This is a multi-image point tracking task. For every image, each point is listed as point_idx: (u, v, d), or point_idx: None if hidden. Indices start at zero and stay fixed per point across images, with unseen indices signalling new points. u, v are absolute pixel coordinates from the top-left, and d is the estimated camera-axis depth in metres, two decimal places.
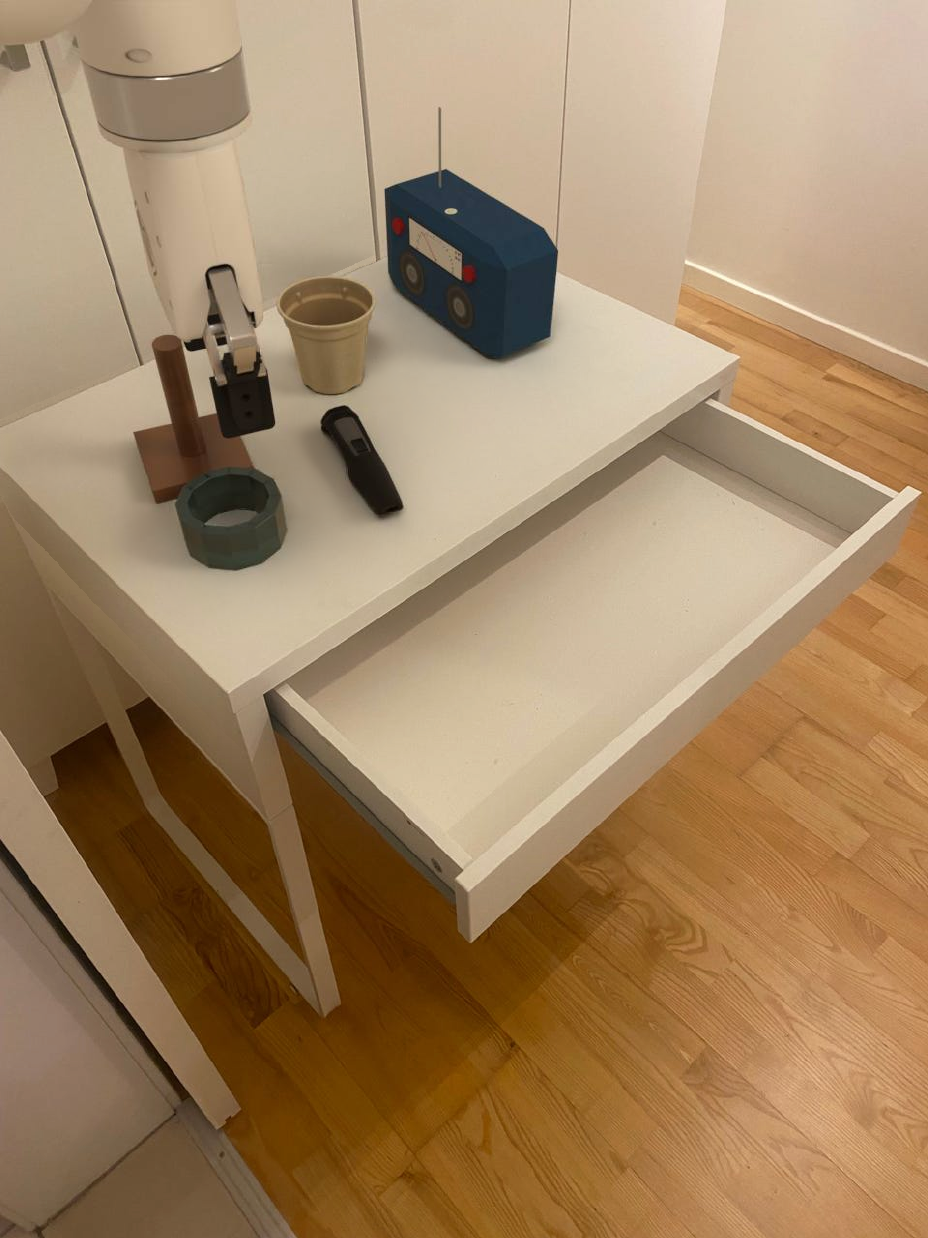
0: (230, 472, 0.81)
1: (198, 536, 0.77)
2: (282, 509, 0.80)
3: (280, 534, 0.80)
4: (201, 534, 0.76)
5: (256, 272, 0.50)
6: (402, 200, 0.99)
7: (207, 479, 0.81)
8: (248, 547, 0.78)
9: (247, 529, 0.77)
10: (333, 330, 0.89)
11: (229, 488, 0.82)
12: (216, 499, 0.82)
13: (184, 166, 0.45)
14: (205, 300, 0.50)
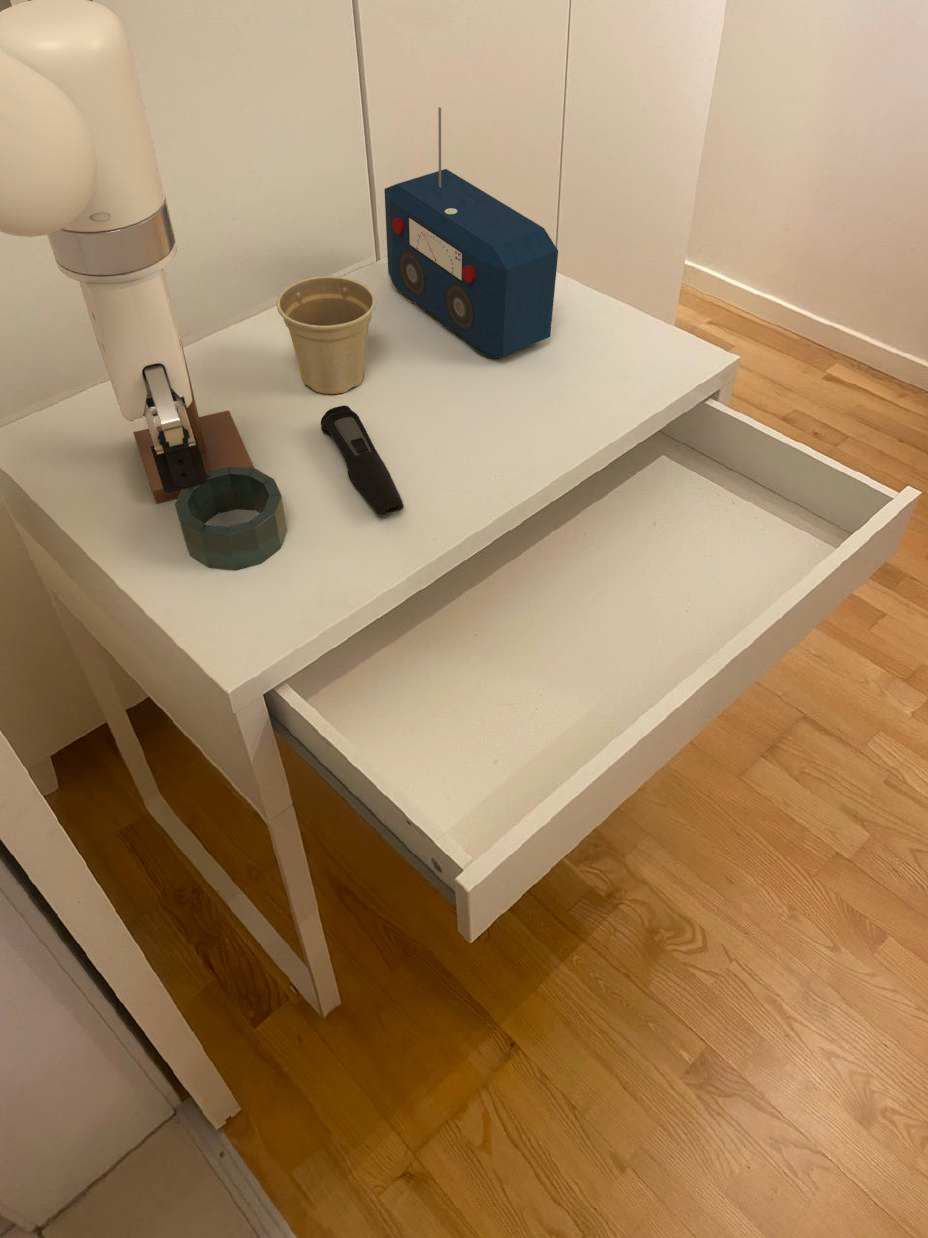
0: (230, 472, 0.81)
1: (198, 536, 0.77)
2: (282, 509, 0.80)
3: (280, 534, 0.80)
4: (201, 534, 0.76)
5: (183, 367, 0.64)
6: (402, 200, 0.99)
7: (207, 479, 0.81)
8: (248, 547, 0.78)
9: (247, 529, 0.77)
10: (333, 330, 0.89)
11: (229, 488, 0.82)
12: (216, 499, 0.82)
13: (121, 294, 0.59)
14: (143, 390, 0.63)
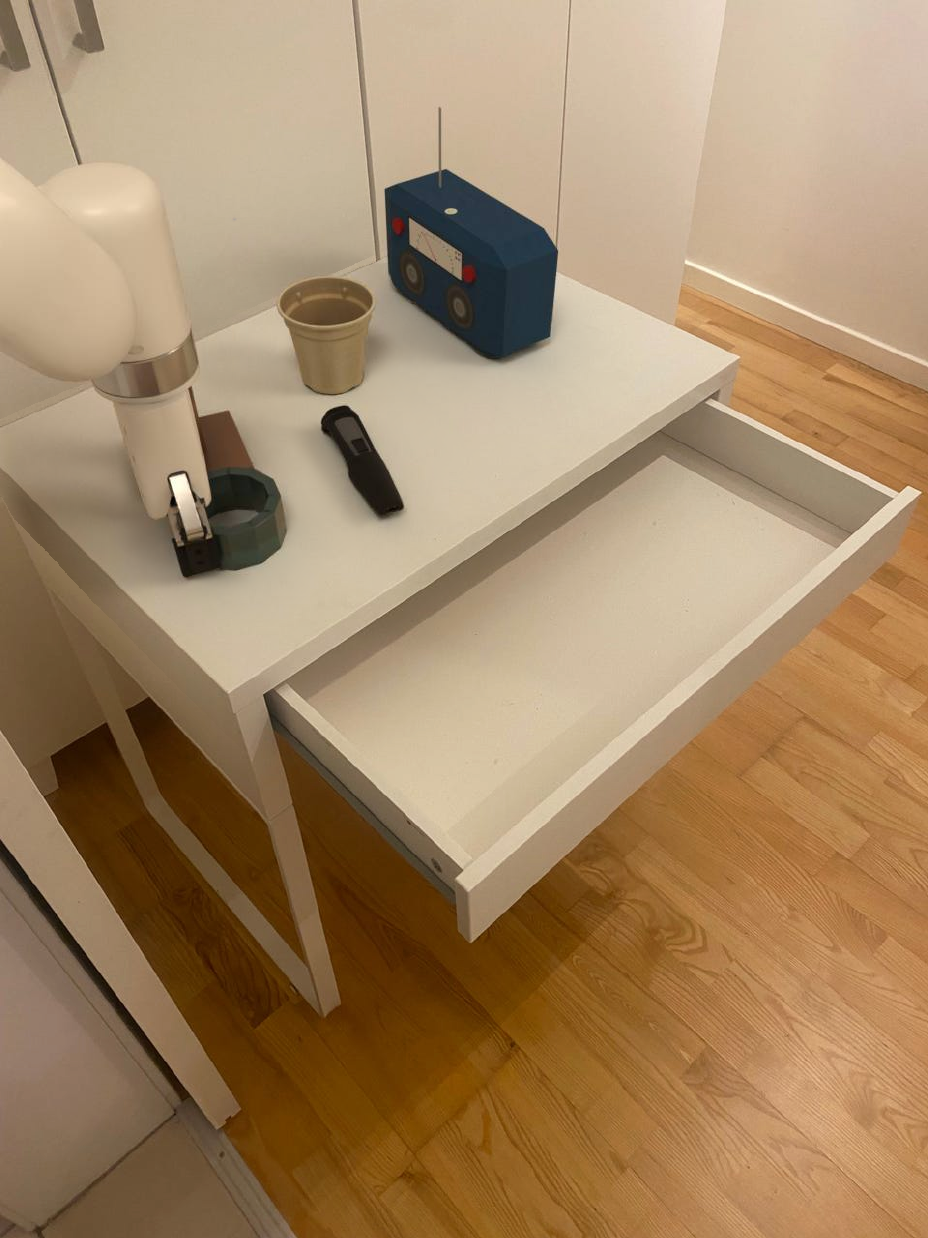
0: (230, 472, 0.81)
1: None
2: (282, 509, 0.80)
3: (280, 534, 0.80)
4: None
5: (204, 473, 0.70)
6: (402, 200, 0.99)
7: None
8: (248, 547, 0.78)
9: (247, 529, 0.77)
10: (333, 330, 0.89)
11: (229, 488, 0.82)
12: (216, 499, 0.82)
13: (150, 414, 0.65)
14: (168, 494, 0.70)
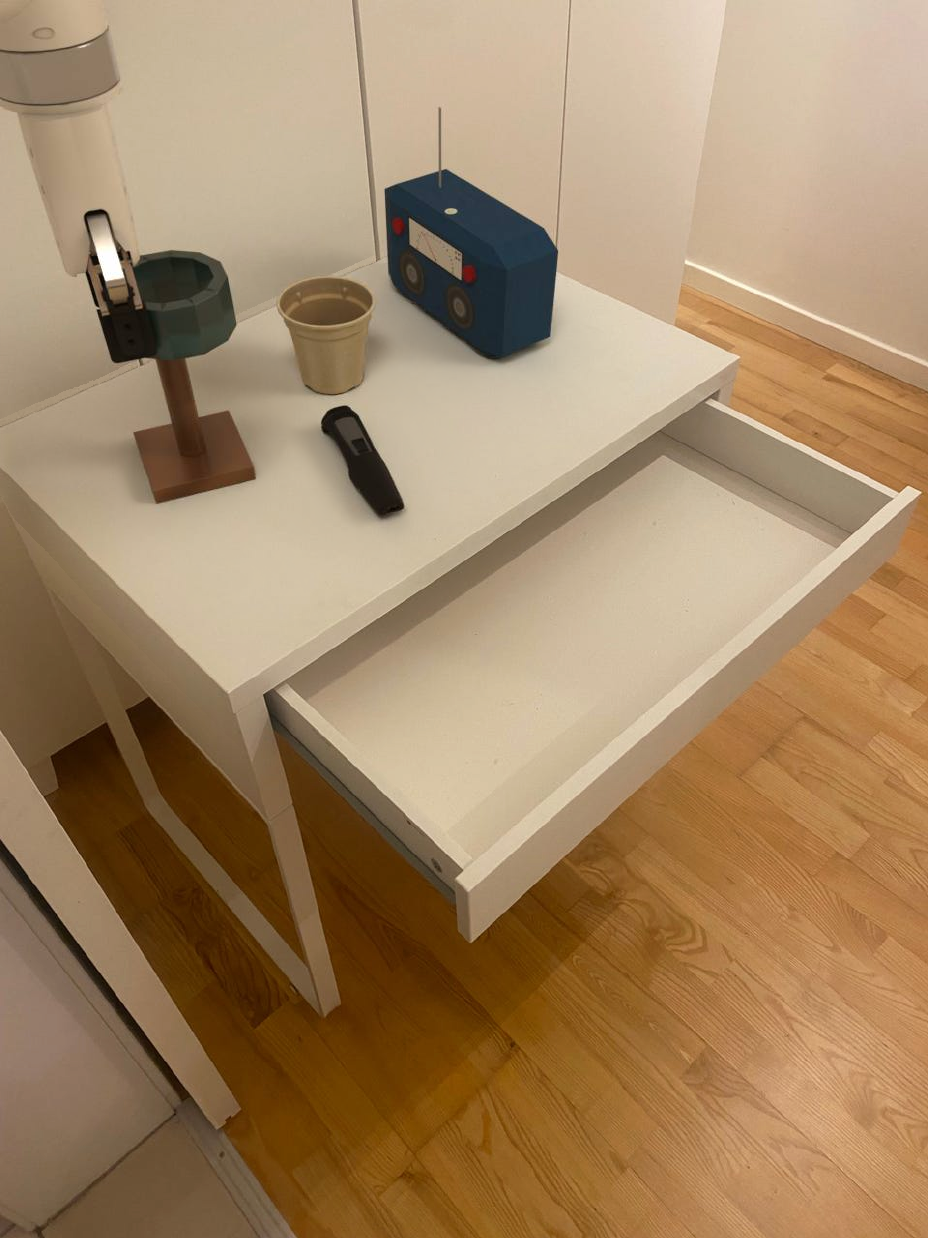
0: (172, 255, 0.71)
1: None
2: (229, 294, 0.70)
3: (227, 323, 0.70)
4: None
5: (129, 217, 0.61)
6: (402, 200, 0.99)
7: (144, 261, 0.71)
8: (188, 330, 0.68)
9: (185, 306, 0.67)
10: (333, 330, 0.89)
11: (171, 276, 0.72)
12: (156, 289, 0.73)
13: (59, 125, 0.56)
14: (85, 239, 0.60)
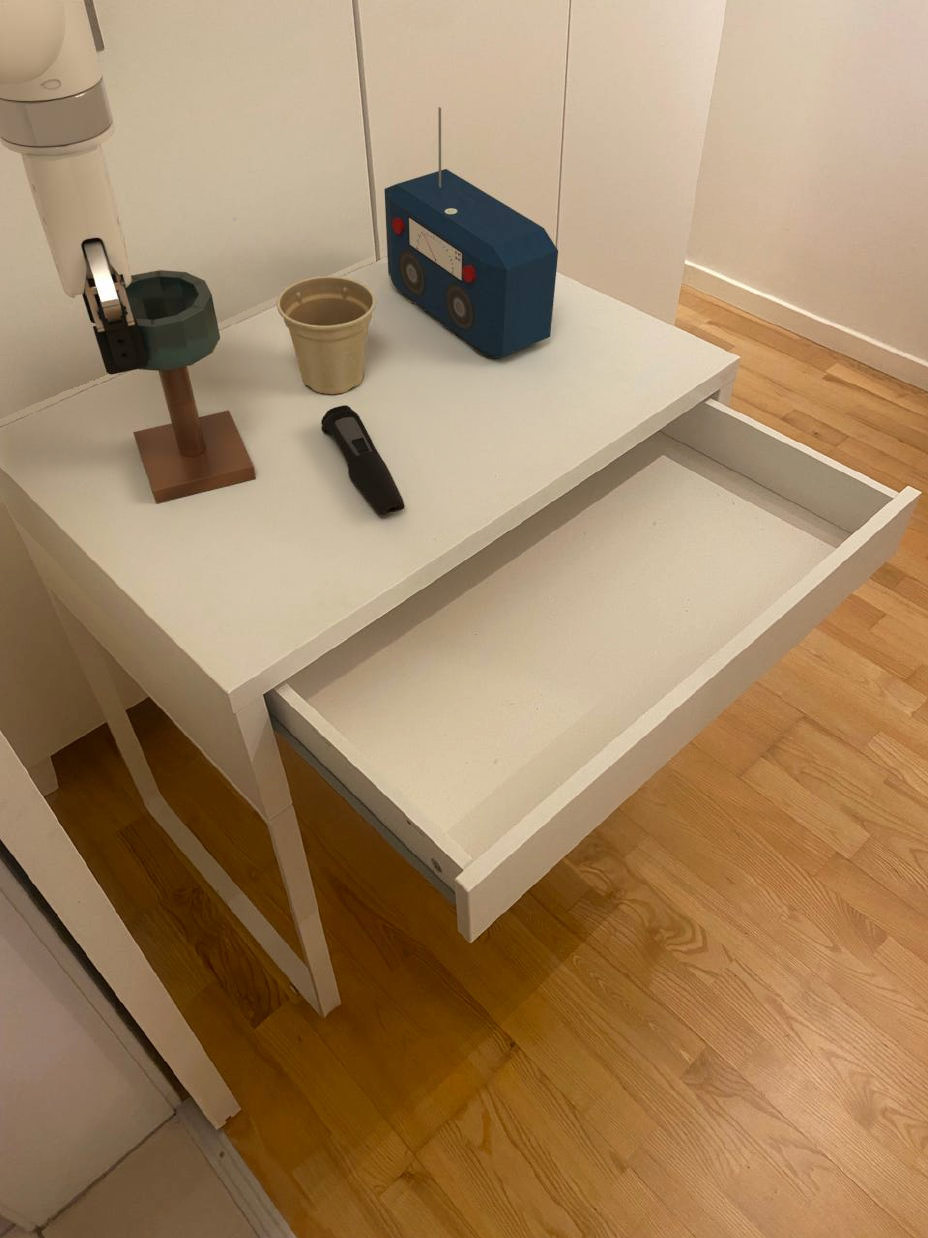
0: (160, 274, 0.78)
1: None
2: (213, 310, 0.77)
3: (211, 337, 0.77)
4: None
5: (121, 244, 0.67)
6: (402, 200, 0.99)
7: (135, 281, 0.78)
8: (175, 344, 0.75)
9: (173, 322, 0.74)
10: (333, 330, 0.89)
11: (160, 294, 0.79)
12: (146, 306, 0.80)
13: (58, 165, 0.63)
14: (83, 264, 0.67)
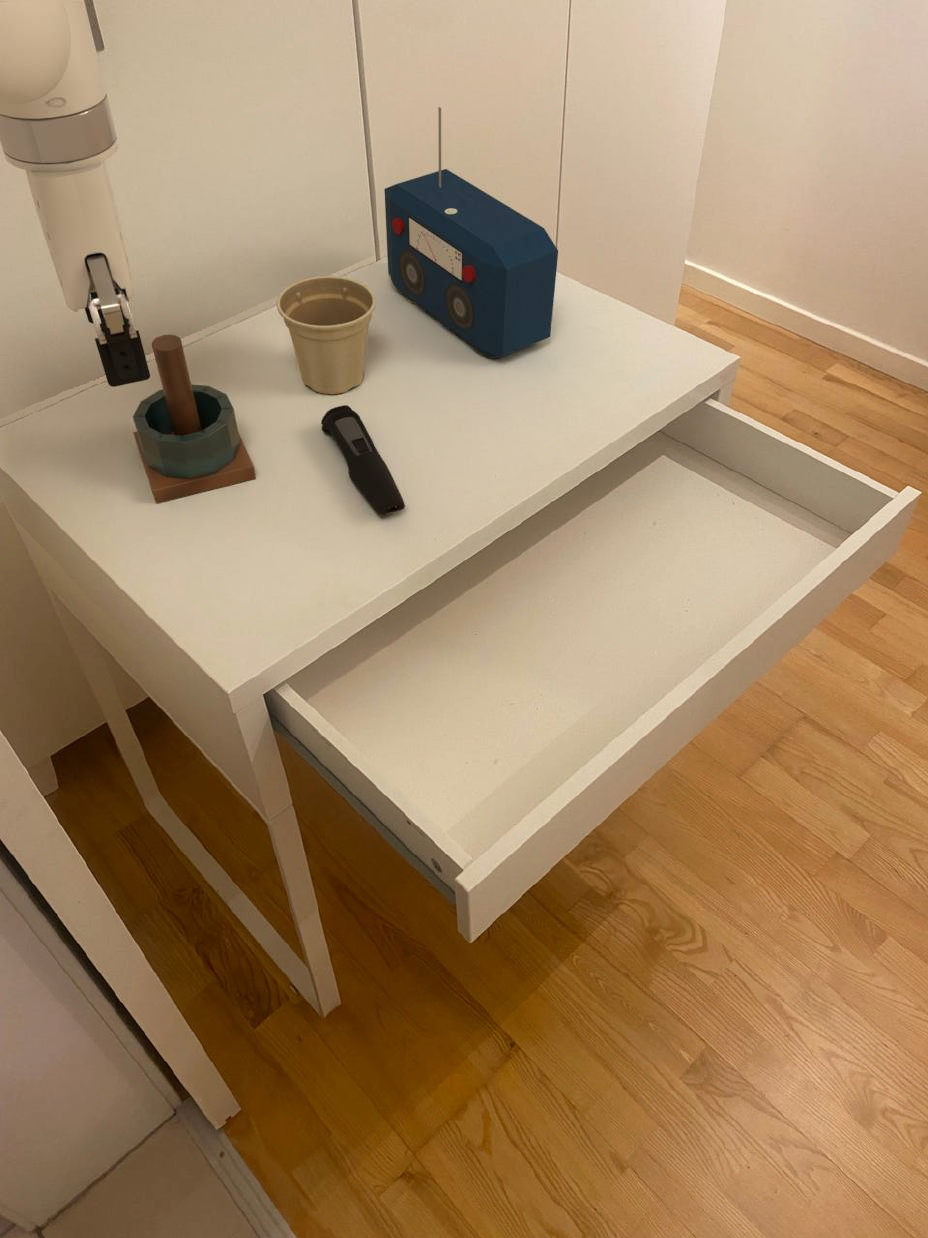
0: None
1: (155, 445, 0.82)
2: (234, 422, 0.85)
3: (233, 445, 0.86)
4: (157, 442, 0.82)
5: (124, 259, 0.68)
6: (402, 200, 0.99)
7: (163, 395, 0.86)
8: (202, 455, 0.83)
9: (201, 437, 0.82)
10: (333, 330, 0.89)
11: None
12: None
13: (63, 181, 0.63)
14: (86, 279, 0.68)
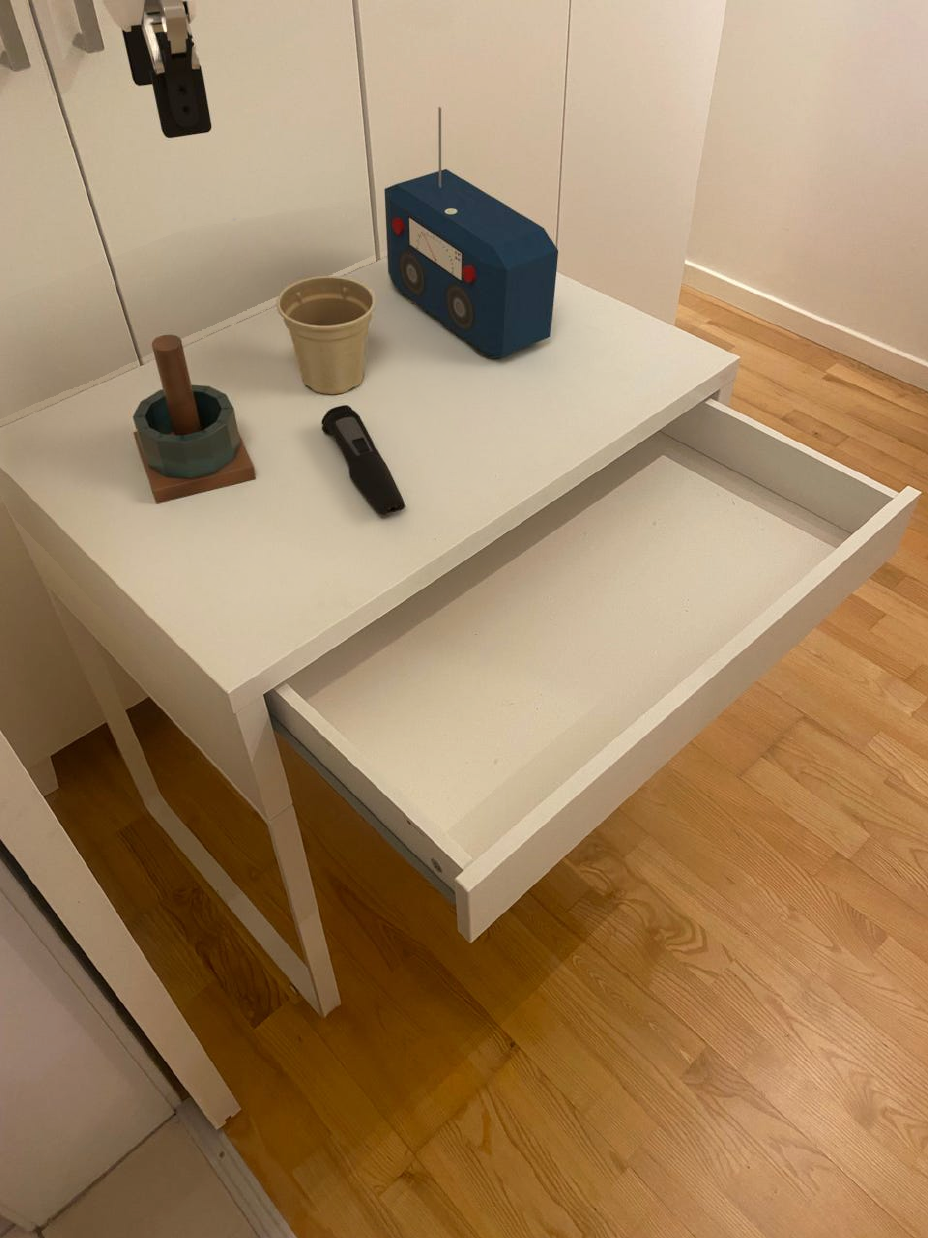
0: None
1: (155, 445, 0.82)
2: (234, 422, 0.85)
3: (233, 445, 0.86)
4: (157, 442, 0.82)
5: None
6: (402, 200, 0.99)
7: (163, 395, 0.86)
8: (202, 455, 0.83)
9: (201, 437, 0.82)
10: (333, 330, 0.89)
11: None
12: None
13: None
14: None
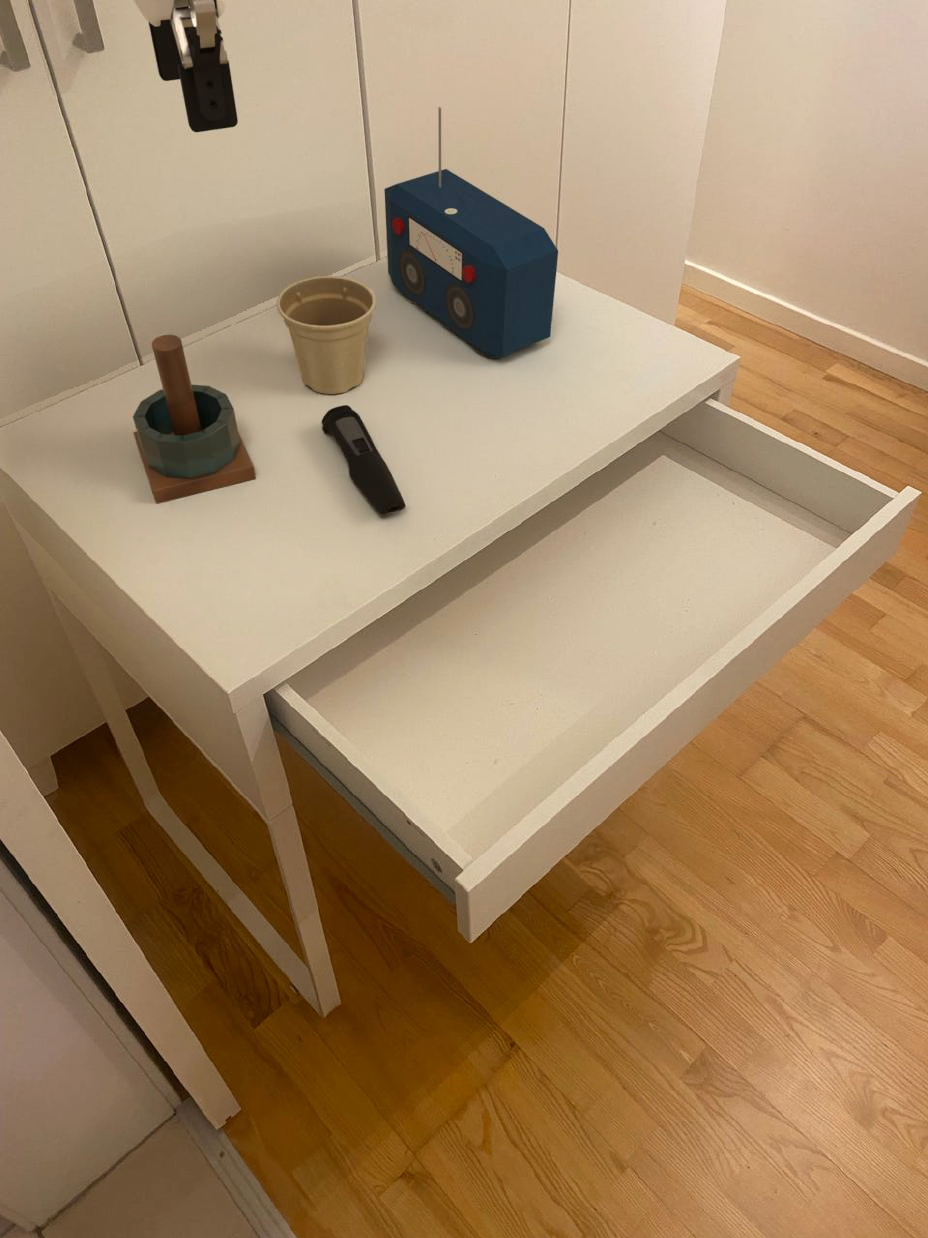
0: None
1: (155, 445, 0.82)
2: (234, 422, 0.85)
3: (233, 445, 0.86)
4: (157, 442, 0.82)
5: None
6: (402, 200, 0.99)
7: (163, 395, 0.86)
8: (202, 455, 0.83)
9: (201, 437, 0.82)
10: (333, 330, 0.89)
11: None
12: None
13: None
14: None
